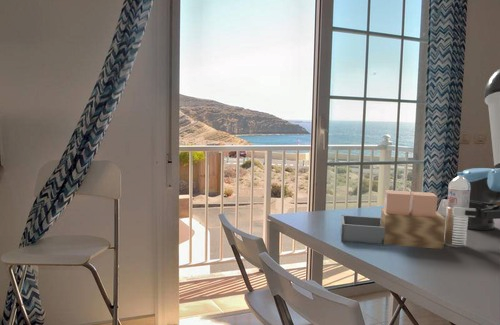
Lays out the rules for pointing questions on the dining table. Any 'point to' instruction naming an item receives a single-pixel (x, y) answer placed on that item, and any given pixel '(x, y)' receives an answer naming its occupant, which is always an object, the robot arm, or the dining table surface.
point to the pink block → (397, 202)
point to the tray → (362, 230)
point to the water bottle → (457, 224)
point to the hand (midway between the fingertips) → (447, 207)
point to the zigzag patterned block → (413, 230)
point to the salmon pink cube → (423, 204)
